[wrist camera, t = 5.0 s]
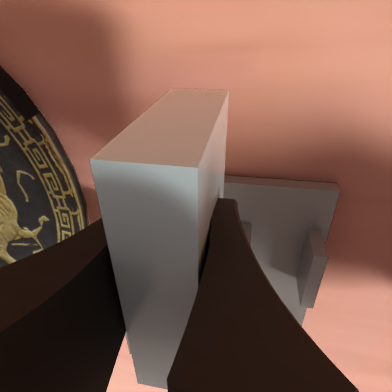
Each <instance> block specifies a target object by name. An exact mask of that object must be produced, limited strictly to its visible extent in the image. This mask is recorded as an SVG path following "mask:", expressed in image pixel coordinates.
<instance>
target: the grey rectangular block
mask: <svg viewBox="0 0 392 392" xmlns="http://www.w3.org/2000/svg"><path fill="white" fill-rule="evenodd" d="M228 97H229V90H213V89H185V88H171V89H170V90H169V91H168V92H167V93H166V94H165V95H163V96H162V97H161V98H160V99H159V100H158V101H156V102H155V103H154V104H153V105H152V106H151V107H149V108H148V109H147V110H146V111H145V112H144V113H142V114H141V115H140V116H139V117H138V118H137V119H135V120H134V121H133V122H132V123H131V124H130V125H128V126H127V127H126V128H125V129H124V130H123V131H122V132H120V133H119V134H118V135H117V136H116V137H115V138H113V139H112V140H111V141H110V142H109V143H108V144H106V145H105V146H104V147H103V148H102V149H101V150H99V151H98V152H97V153H96V154H95V155H94V156H92V157H91V158H90V159H89V160H90V165H91V170H92V174H93V179H94V183H95V188H96V193H97V197H98V202H99V206H100V211H101V216H102V220H103V225H104V229H105V234H106V239H107V243H108V248H109V252H110V257H111V262H112V266H113V271H114V275H115V280H116V285H117V289H118V294H119V298H120V303H121V308H122V312H123V317H124V321H125V326H126V331H127V335H128V340H129V344H130V349H131V354H132V358H133V363H134V367H135V372H136V377H137V381H138V383H139V384H144V385H149V386H154V387H159V388H164V389H168V387H167V377H168V374H169V372H170V369H171V366H172V364H173V361H174V358H175V356H176V353H177V350H178V347H179V345H180V342H181V339H182V336H183V334H184V331H185V328H186V325H187V322H188V319H189V316H190V313H191V310H192V307H193V304H194V301H195V298H196V294H197V291H198V287H199V284H200V281H201V277H202V274H203V270H204V267H205V263H206V259H207V255H208V250H209V243H210V232H211V222H212V214H213V210H214V207H215V204H216V201H217V199H218V198H223V193H224V173H225V154H226V135H227V116H228Z"/></svg>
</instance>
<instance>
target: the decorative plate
mask: <svg viewBox="0 0 392 392" xmlns="http://www.w3.org/2000/svg"><path fill="white" fill-rule="evenodd" d="M87 226H89V223H88V215H87V207H86V201H85V198H84V195H83V192H82V189H81V187H80V184H79V181H78V178H77V175H76V172H75V169H74V167H73V165H72V163H71V161H70V160H69V158H68V156H67V154H66V152H65V150H64V148H63V147H62V145H61V143H60V141H59V139H58V137H57V135H56V134H55V132H54V130H53V129H52V127H51V126H50V125H49V123H48V122H47V121H46V119H45V118H44V117H43V115H42V114H41V113H40V111H39V110H38V109H37V107H36V106H35V105H34V103H33V102H32V101H31V99H30V98H29V97H28V95H27V94H26V92H25V91H24V90H23V89H22V88H21V87H20V86H19V85H18V84H17V83H16V82H15V81H14V80H13V79H12V78H11V77H10V75H9V74H8V73H7V72H6V71H5V70H4V69H3V68H2V67H1V66H0V268H1V267H3V266H6V265H8V264H11V263H13V262H15V261H18V260H20V259H23V258H25V257H28V256H30V255H32V254H35V253H37V252H40V251H42V250H44V249H46V248H48V247H50V246H52V245H54V244H56V243H58V242H60V241H62V240H64V239H66V238H68V237H70V236H72V235H74V234H76V233H77V232H79V231H81V230H82V229H84V228H86V227H87Z"/></svg>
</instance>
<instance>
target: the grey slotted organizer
mask: <svg viewBox="0 0 392 392" xmlns="http://www.w3.org/2000/svg"><path fill="white" fill-rule="evenodd" d="M339 194H340V190H339V187H338V185H337V183H327V182H313V181H299V180H285V179H271V178H258V177H244V176H230V175H224V193H223V198H227V199H235V200H236V201H237V202H238V212H239V216H240V220H241V223H242V226H243V229H244V232H245V234H246V237H247V239H248V242H249V244H250V246H251V249H252V251H253V253H254V255H255V257H256V259H257V261H258V263H259V265H260V267H261V268H262V270H263V272H264V274H265V275H266V277H267V279H268V280H269V282H270V284H271V285H272V287H273V288H274V290H275V291H276V293H277V294H278V296H279V297H280V299H281V300H282V301H283V303H284V304H285V305H286V307H287V308H288V309H289V311H290V312H291V313H292V315H293V316H294V317H295V319H296V320H297V321H298V323H299V324H300V325H301V326H302V323H303V319H304V316H305V312H306V309H307V307H308V308H313V306H314V303H315V300H316V296H317V293H318V290H319V286H320V283H321V280H322V277H323V273H324V270H325V267H326V263H327V260H328V255H327V251H326V248H325V243H326V239H327V236H328V233H329V229H330V226H331V222H332V219H333V215H334V212H335V208H336V205H337V201H338V198H339ZM125 335H126V339H127V344H128V348H129V352H130V354H131V349H130V344H129V340H128V335H127V331H126V333H125Z"/></svg>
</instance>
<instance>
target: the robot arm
mask: <svg viewBox="0 0 392 392" xmlns="http://www.w3.org/2000/svg"><path fill="white" fill-rule="evenodd" d="M125 333H126V326H125V321H124V317H123V312H122V308H121V303H120V298H119V294H118V289H117V285H116V280H115V275H114V271H113V266H112V262H111V257H110V252H109V248H108V243H107V239H106V234H105V229H104V225H103V220H102V218H101V219H99V220H98V221H96V222H94V223H93V224H91V225H89V226H87V227H86V228H84V229H82V230H81V231H79V232H77V233H76V234H74V235H72V236H70V237H68V238H66V239H64V240H62V241H60V242H58V243H56V244H54V245H52V246H50V247H48V248H46V249H44V250H42V251H40V252H37V253H35V254H32V255H30V256H28V257H25V258H23V259H20V260H18V261H15V262H13V263H11V264H8V265H6V266H3V267H1V268H0V392H106V390H107V387H108V384H109V381H110V378H111V375H112V372H113V368H114V365H115V362H116V359H117V356H118V353H119V350H120V347H121V344H122V341H123V339H124V336H125ZM167 387H168V392H359V391H358V389H357V388H356V387H355V386H354V385H353V384H352V383H351V382H350V381H349V380H348V379H347V378H346V377H345V376H344V374H343V373H342V372H341V371H340V370H339V369H338V368H337V367H336V366H335V365H334V364H333V363H332V362H331V360H330V359H329V358H328V357H327V356H326V355H325V354H324V353H323V352H322V350H321V349H320V348H319V347H318V346H317V345H316V343H315V342H314V341H313V340H312V339H311V338H310V336H309V335H308V334H307V333H306V332H305V330H304V329H303V328H302V327H301V325H300V324H299V323H298V321H297V320H296V319H295V317H294V316H293V315H292V313H291V312H290V311H289V309H288V308H287V307H286V305H285V304H284V303H283V301H282V300H281V299H280V297H279V296H278V294H277V293H276V291H275V290H274V288H273V287H272V285H271V284H270V282H269V280H268V279H267V277H266V275H265V274H264V272H263V270H262V268H261V267H260V265H259V263H258V261H257V259H256V257H255V255H254V253H253V251H252V249H251V246H250V244H249V242H248V239H247V237H246V234H245V232H244V229H243V226H242V223H241V220H240V216H239V212H238V202H237V201H236V200H235V199H227V198H218V199H217V201H216V204H215V207H214V210H213V214H212V222H211V232H210V243H209V250H208V255H207V259H206V263H205V267H204V270H203V274H202V277H201V281H200V284H199V287H198V291H197V294H196V298H195V301H194V304H193V307H192V310H191V313H190V316H189V319H188V322H187V325H186V328H185V331H184V334H183V336H182V339H181V342H180V345H179V347H178V350H177V353H176V356H175V358H174V361H173V364H172V366H171V369H170V372H169V374H168V377H167Z"/></svg>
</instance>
